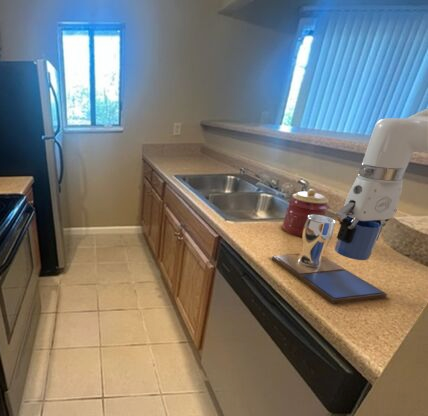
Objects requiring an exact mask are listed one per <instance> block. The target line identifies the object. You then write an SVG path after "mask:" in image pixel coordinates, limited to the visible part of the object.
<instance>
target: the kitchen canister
mask: <svg viewBox="0 0 428 416" xmlns="http://www.w3.org/2000/svg"><path fill="white" fill-rule="evenodd" d="M329 201H330V200H329V198H327V197H326V196H325V195H323V194H321V193H317V191H316V189H314V188H310V189H308V190H307V191H298V192H296V193H293V194H292V196H291V198H290V199H289V198H288V206H287V207H286V211H285V215H284V220H283V222H282V229H283V230H284V231H285V232H287V233H288V234H291V235H293V236H296V237H301V238H302V235H303V229H304V226H305V223H306V221H307V218H308V216H309V215H323V216H327V217H328V214H327V211H328V210H329V209H330V208H331V207H330V205H329V204H328V203H329Z"/></svg>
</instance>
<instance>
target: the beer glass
mask: <svg viewBox="0 0 428 416" xmlns="http://www.w3.org/2000/svg"><path fill="white" fill-rule="evenodd" d="M336 222H337V221H336V220H335V219H334V218H332V217H330V216H328V215H327V216H323V215H309V216H308V218H307V221H306V223H305V226H304V229H303V235H302V237H301V249H300V252H299V253H298V254H299V256H298V258H297V260H298V262H300V263H301V264H303V265H305V266H309V267H320V266H321V257H322V256H323V254H324V252H325V251H326V248H327V247H328V245H329V243H330V242H331V240H332V238H333V234H334V231H335V226H336Z"/></svg>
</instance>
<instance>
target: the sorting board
mask: <svg viewBox="0 0 428 416" xmlns="http://www.w3.org/2000/svg"><path fill="white" fill-rule="evenodd" d="M299 254H300V253H290V254H279V255H272V257H271V260H272V261H274V263H276V264H278V265H279V266H280V267H282V268H283V269H284V270H285V271H287V272H288V273H290V274H291V275H293V276H294V277H295V278H297V279H298V280H299V281H301V282H302V283H304V284H305V285H306V286H307V287H309V288H310V289H312V290H313V291H314V292H316V293H317V294H318V295H320V296H321V297H322V298H324V299H325V300H326V301H328V302H329V303H330V304H332V305H334V304H342V303H350V302H351V303H353V302H358V301H359V302H360V301H367V300H376V299H384V298H387V296H388V293H386V292H385V291H383V290H381V289H380V288H378V287H376V286H374V285H373V284H371V283H369V282H367V281H366V280H365V279H363V278H361V277H359V276H358V275H356V274H354V273H352V272H351V271H349V270H347V269H346V268H344V267H342V266H340V265H338V264H337V263H335V262H334V261H332V260H330V259H329V258H327V257H325V256H324V255H322V257H321V266H320V267H309V266H305V265H303V264H301V263H300V262H298V260H297V258H298V256H299Z"/></svg>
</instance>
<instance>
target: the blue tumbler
mask: <svg viewBox="0 0 428 416" xmlns="http://www.w3.org/2000/svg"><path fill="white" fill-rule="evenodd" d="M352 220H353V219H352V218H350V219H349V221H350V223H351V221H352ZM381 228H382V229H383V227H382V226H381V225H380V224H379V223H377V222H374V221H360V220H359V222H358V223H357V224H356V225H355V226H354V228H353V229H355V231H354V234H353V237H352V240H351V242H350V243H345V242H343V241H341V240H339V239H338V238H336V244H335V246H334V251H335V252H336V253H337V254H338V255H340V256H343V257H345V258H348V259H351V260H357V261H367V260H369V259H370V257H371V255H372V253H373V251H374V248H375V245H376V242H377V241H378V240H377V238H378V239H379V237H378V235H379V233H380V234H381V232H380V230H381ZM381 231H382V230H381ZM379 236H380V235H379ZM376 240H377V241H376Z"/></svg>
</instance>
